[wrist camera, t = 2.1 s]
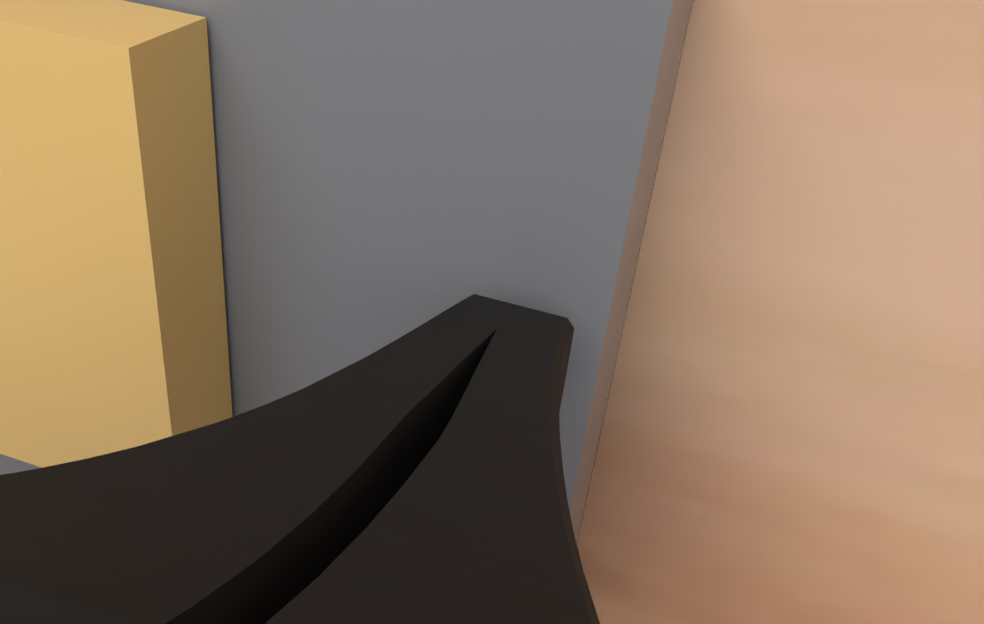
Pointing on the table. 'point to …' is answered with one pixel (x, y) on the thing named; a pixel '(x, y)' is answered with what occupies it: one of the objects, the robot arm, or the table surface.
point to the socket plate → (432, 178)
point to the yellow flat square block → (107, 230)
